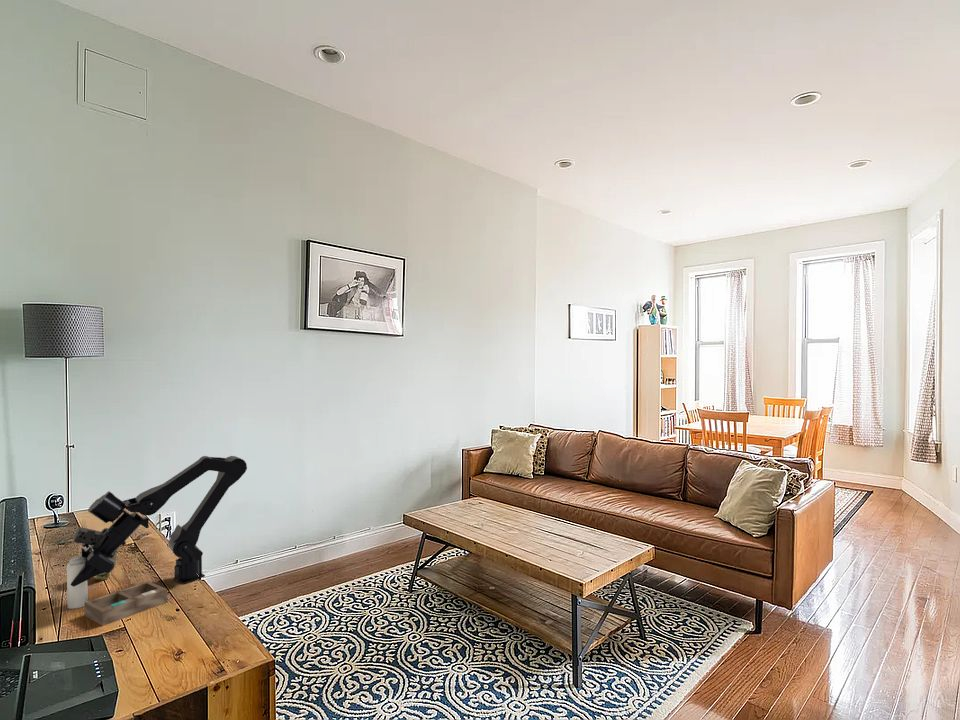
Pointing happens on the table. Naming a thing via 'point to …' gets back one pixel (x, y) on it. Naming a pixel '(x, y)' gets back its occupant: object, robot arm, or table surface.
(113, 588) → the table surface
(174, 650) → the table surface
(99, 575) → the cup
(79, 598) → the plug
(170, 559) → the table surface
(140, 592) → the socket block
